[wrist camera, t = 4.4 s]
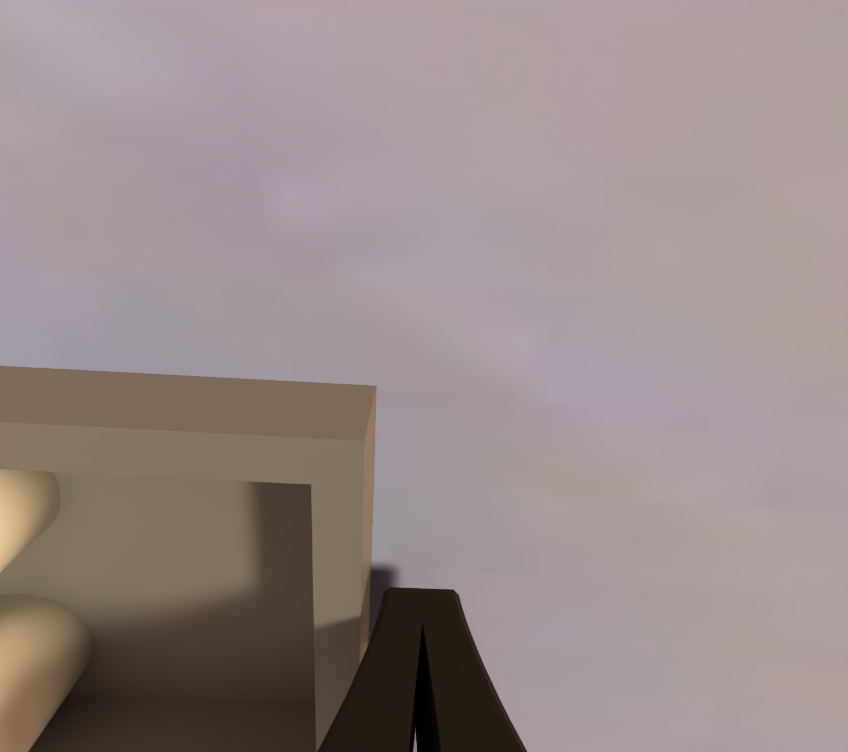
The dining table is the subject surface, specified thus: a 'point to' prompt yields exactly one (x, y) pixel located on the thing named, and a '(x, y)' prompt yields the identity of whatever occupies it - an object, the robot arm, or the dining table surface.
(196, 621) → the tray
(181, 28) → the dining table surface
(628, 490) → the dining table surface
